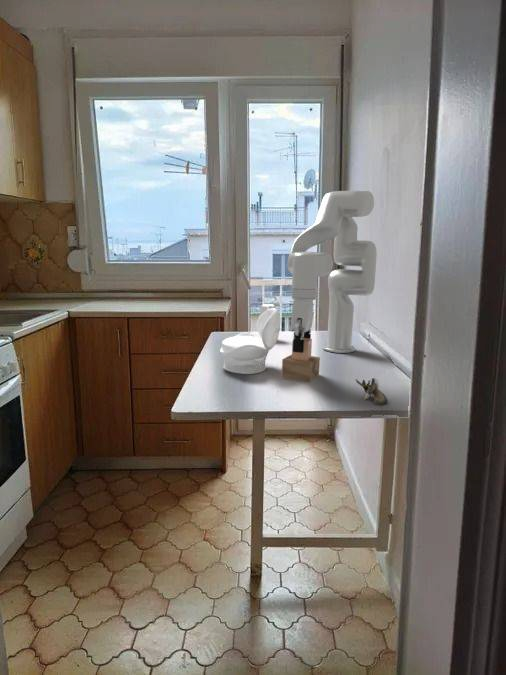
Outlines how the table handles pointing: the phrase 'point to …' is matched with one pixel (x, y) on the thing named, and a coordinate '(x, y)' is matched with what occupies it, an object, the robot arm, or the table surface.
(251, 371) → the white toilet model
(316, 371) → the walnut block
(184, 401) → the table surface
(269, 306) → the white rounded tall piece
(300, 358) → the peach block
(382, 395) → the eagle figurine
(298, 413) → the table surface
